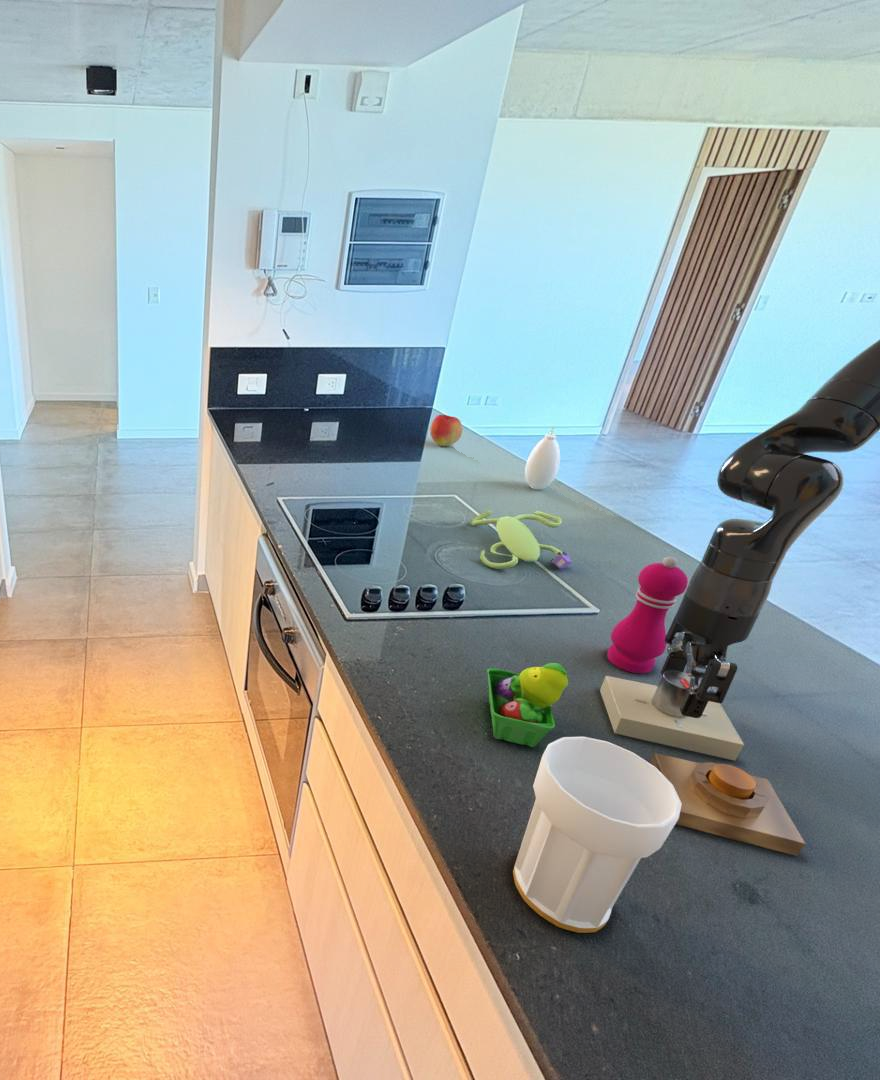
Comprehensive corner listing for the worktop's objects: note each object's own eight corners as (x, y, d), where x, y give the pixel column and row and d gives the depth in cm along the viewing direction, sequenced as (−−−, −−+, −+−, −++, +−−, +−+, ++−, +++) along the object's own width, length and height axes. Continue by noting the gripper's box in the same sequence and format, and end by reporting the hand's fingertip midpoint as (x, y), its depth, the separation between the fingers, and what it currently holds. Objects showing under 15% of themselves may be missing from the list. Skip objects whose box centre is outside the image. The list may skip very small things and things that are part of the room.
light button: (742, 779, 76) (748, 768, 76) (755, 803, 73) (762, 793, 72) (703, 769, 78) (708, 759, 77) (714, 793, 75) (720, 783, 74)
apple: (428, 448, 204) (434, 418, 200) (427, 439, 212) (432, 411, 208) (460, 450, 201) (466, 420, 197) (457, 442, 210) (463, 413, 205)
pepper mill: (594, 656, 104) (633, 552, 95) (618, 644, 107) (659, 542, 98) (640, 681, 99) (686, 573, 90) (664, 667, 101) (712, 561, 92)
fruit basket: (479, 692, 97) (496, 633, 92) (543, 705, 94) (564, 645, 89) (484, 742, 87) (503, 679, 82) (556, 759, 84) (580, 695, 79)
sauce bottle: (551, 495, 167) (570, 431, 159) (519, 490, 171) (536, 427, 163) (552, 486, 173) (571, 424, 165) (521, 481, 177) (537, 420, 168)
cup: (523, 935, 63) (571, 819, 56) (488, 839, 73) (525, 730, 66) (643, 952, 62) (711, 835, 54) (591, 852, 72) (642, 741, 64)
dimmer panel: (709, 713, 92) (717, 696, 90) (735, 761, 84) (745, 743, 82) (599, 690, 97) (606, 674, 95) (614, 733, 88) (621, 716, 87)
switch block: (760, 791, 79) (773, 768, 77) (797, 856, 71) (813, 833, 69) (648, 764, 83) (659, 742, 82) (671, 823, 75) (683, 800, 73)
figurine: (551, 529, 148) (558, 507, 146) (579, 582, 126) (587, 558, 123) (468, 519, 154) (473, 499, 151) (480, 569, 131) (486, 546, 129)
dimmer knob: (646, 694, 91) (659, 665, 89) (682, 700, 90) (695, 671, 88) (657, 714, 88) (671, 684, 85) (694, 720, 86) (709, 691, 84)
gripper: (671, 568, 87) (633, 661, 94) (708, 621, 75) (662, 722, 83) (736, 577, 85) (693, 671, 92) (785, 633, 73) (731, 736, 80)
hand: (678, 695), depth 87 cm, fingers open, 8 cm apart
